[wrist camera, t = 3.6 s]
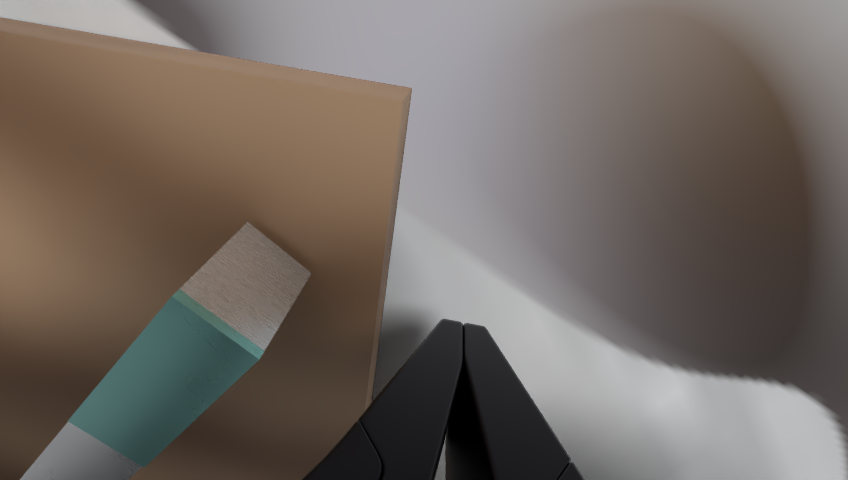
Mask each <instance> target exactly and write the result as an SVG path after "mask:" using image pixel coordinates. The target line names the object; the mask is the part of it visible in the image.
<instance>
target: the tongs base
mask: <svg viewBox="0 0 848 480" xmlns="http://www.w3.org/2000/svg"><path fill="white" fill-rule="evenodd" d="M411 92H412V88H408V87H402V86H396V85H390V84H385V83H379V82H373V81H367V80H361V79H356V78H350V77H344V76H337V75H332V74H326V73H320V72H315V71H309V70H303V69H296V68H291V67H286V66H280V65H274V64H268V63H262V62H257V61H251V60H245V59H239V58H233V57H227V56H221V55H216V54H210V53H204V52H198V51H192V50H187V49H181V48H175V47H169V46H163V45H158V44H152V43H146V42H140V41H134V40H128V39H123V38H117V37H111V36H105V35H99V34H93V33H88V32H82V31H76V30H70V29H64V28H58V27H53V26H47V25H41V24H35V23H29V22H23V21H18V20H12V19H6V18H0V480H20V479H21V477H22V476H23V475H24V474H25V473H26V471H27V470H28V469H29V468H30V467H31V465H32V464H33V463H34V462H35V461H36V460H37V458H38V457H39V456H40V455H41V454H42V452H43V451H44V450H45V449H46V448H47V446H48V445H49V444H50V443H51V442H52V440H53V439H54V438H55V437H56V436H57V434H58V433H59V432H60V431H61V430H62V428H63V427H64V426H65V425H66V424H67V422H68V420H69V419H70V418H71V416H72V415H73V414H74V413H75V412H76V410H77V409H78V408H79V407H80V406H81V404H82V403H83V402H84V401H85V400H86V398H87V397H88V396H89V395H90V394H91V392H92V391H93V390H94V389H95V388H96V386H97V385H98V384H99V383H100V382H101V380H102V379H103V378H104V377H105V376H106V374H107V373H108V372H109V371H110V370H111V368H112V367H113V366H114V365H115V364H116V362H117V361H118V360H119V359H120V358H121V356H122V355H123V354H124V353H125V352H126V351H127V349H128V348H129V347H130V346H131V345H132V343H133V342H134V341H135V340H136V339H137V337H138V336H139V335H140V334H141V333H142V331H143V330H144V329H145V328H146V327H147V325H148V324H149V323H150V322H151V321H152V319H153V318H154V317H155V316H156V315H157V313H158V312H159V311H160V310H161V309H162V307H163V306H164V305H165V304H166V303H167V301H168V300H169V299H170V298H171V297H172V296H173V295H174V294H175V293H176V292H177V291H178V290H179V289H180V288H181V287H182V286H183V285H184V284H185V283H186V282H187V281H188V280H189V279H190V278H191V277H192V276H193V275H194V274H195V273H196V272H197V271H198V270H199V269H200V268H201V267H202V266H203V265H204V264H205V263H206V262H207V261H208V260H209V259H210V258H211V257H212V256H213V255H214V254H215V253H216V252H217V251H218V250H219V249H220V248H222V247H223V246H224V245H225V244H226V243H227V242H228V241H229V240H230V239H231V238H232V237H233V236H234V235H235V234H236V233H237V232H238V231H239V230H240V229H241V228H242V227H243V226H244V225H245V224H246V223H247V222H249V223H250V224H251V225H253V226H254V227H255V228H256V229H258V230H259V231H260V232H261V233H263V234H264V235H265V236H266V237H267V238H269V239H270V240H271V241H272V242H274V243H275V244H276V245H277V246H279V247H280V248H281V249H282V250H284V251H285V252H286V253H287V254H289V255H290V256H291V257H292V258H294V259H295V260H296V261H297V262H299V263H300V264H301V265H302V266H304V267H305V268H306V269H307V270H308V271H310V272H311V273H312V274H311V275H310V277H309V278H308V280H307V282H306V283H305V285H304V287H303V288H302V290H301V292H300V293H299V295H298V297H297V298H296V300H295V302H294V303H293V305H292V307H291V308H290V310H289V311H288V313H287V315H286V316H285V318H284V320H283V321H282V323H281V325H280V326H279V328H278V330H277V331H276V333H275V335H274V336H273V338H272V340H271V341H270V343H269V344H268V346H267V348H266V349H265V351H264V353H263V354H262V356H261V358H260V359H259V360H258V361H257V362H256V363H255V364H254V365H253V366H252V367H251V368H250V369H249V370H248V371H247V372H246V373H245V374H243V375H242V376H241V377H240V378H239V379H238V380H237V381H236V382H235V383H234V384H233V385H232V386H231V387H230V388H229V389H228V390H226V391H225V392H224V393H223V394H222V395H221V396H220V397H219V398H218V399H217V400H216V401H215V402H214V403H213V404H212V405H210V406H209V407H208V408H207V409H206V410H205V411H204V412H203V413H202V414H201V415H200V416H199V417H198V418H197V419H196V420H195V421H193V422H192V423H191V424H190V425H189V426H188V427H187V428H186V429H185V430H184V431H183V432H182V433H181V434H180V435H179V436H178V437H176V438H175V439H174V440H173V441H172V442H171V443H170V444H169V445H168V446H167V447H166V448H165V449H164V450H163V451H162V452H161V453H159V454H158V455H157V456H156V457H155V458H154V459H153V460H152V461H151V462H150V463H149V464H148V465H147V466H146V467H145V468H143V467H141V468H140V469H139V470H138V471H137V472H136V473H135V474H134V475H133V476H132V477H131V478H130V479H129V480H302V479H303V478H304V477H305V476H306V475H307V474H308V473H309V472H310V471H311V470H312V469H313V468H314V467H315V466H316V465H317V464H318V463H319V462H320V461H321V460H322V459H323V458H324V457H325V456H326V455H327V454H328V453H329V452H330V451H331V450H332V449H333V448H334V446H335V445H336V444H337V443H338V442H339V441H340V440H341V439H342V438H343V436H344V435H345V434H346V433H347V432H348V430H349V429H350V428H351V427H352V426H353V424H354V423H355V422H357V421H358V419H359V418H360V416H361V415H362V414H363V413H364V412H365V410H366V409H367V408H368V407H369V406H370V404H371V400H372V393H373V385H374V377H375V370H376V362H377V354H378V346H379V339H380V331H381V323H382V316H383V308H384V300H385V292H386V285H387V277H388V269H389V262H390V254H391V246H392V238H393V231H394V223H395V215H396V208H397V200H398V192H399V184H400V177H401V169H402V161H403V154H404V146H405V138H406V131H407V122H408V115H409V107H410V100H411Z"/></svg>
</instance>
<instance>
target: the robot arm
mask: <svg viewBox="0 0 848 480" xmlns="http://www.w3.org/2000/svg"><path fill="white" fill-rule="evenodd" d="M445 436H446V449H445V456H446V480H584V478H583V477H582V475H581V474H580V472H579V471H578V469H577V467H576V466H575V464H574V463H572V462H571V459H570V457H569V455H568V454H567V452H566V451H565V449H564V448H563V446H562V445H561V443H560V442H559V440H558V438H557V437H556V435H555V434H554V432H553V431H552V429H551V428H550V426H549V425H548V423H547V421H546V420H545V418H544V417H543V415H542V414H541V412H540V411H539V409H538V408H537V406H536V404H535V403H534V401H533V400H532V398H531V397H530V395H529V394H528V392H527V391H526V389H525V387H524V386H523V384H522V383H521V381H520V380H519V378H518V377H517V375H516V374H515V372H514V370H513V369H512V367H511V366H510V364H509V363H508V361H507V360H506V358H505V357H504V355H503V354H502V352H501V350H500V349H499V347H498V346H497V344H496V343H495V341H494V340H493V338H492V337H491V335H490V333H489V332H488V330H487V329H486V328H485V327H484V326H480V325H475V324H469V323H465V324H464V325H463V324H462V323H461V322H459V321H453V320H448V319H442V320H441V321H440V322H439V323H438V324H437V325H436V327H435V328H434V329H433V330H432V331H431V333H430V334H429V335H428V336H427V337H426V339H425V340H424V341H423V342H422V343H421V345H420V346H419V347H418V348H417V349H416V351H415V352H414V353H413V354H412V355H411V357H410V358H409V359H408V360H407V361H406V363H405V364H404V365H403V366H402V367H401V369H400V370H399V371H398V372H397V373H396V375H395V376H394V377H393V378H392V379H391V381H390V382H389V383H388V384H387V385H386V386H385V388H384V389H383V390H382V391H381V392H380V394H379V395H378V396H377V397H376V398H375V400H374V401H373V402H372V403H371V404H370V406H369V407H368V408H367V409H366V410H365V412H364V413H363V414H362V415H361V416H360V418H359V419H358V421H357V422H355V423H354V424H353V426H352V427H351V428H350V429H349V430H348V432H347V433H346V434H345V435H344V436H343V438H342V439H341V440H340V441H339V442H338V443H337V444H336V445H335V446H334V448H333V449H332V450H331V451H330V452H329V453H328V454H327V455H326V456H325V457H324V458H323V459H322V460H321V461H320V462H319V463H318V464H317V465H316V466H315V467H314V468H313V469H312V470H311V471H310V472H309V473H308V474H307V475H306V476H305V477H304V478H303V479H302V480H435V476H436V472H437V468H438V464H439V460H440V456H441V452H442V448H443V444H444V440H445ZM570 462H571V463H570Z"/></svg>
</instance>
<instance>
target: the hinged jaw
mask: <svg viewBox="0 0 848 480" xmlns="http://www.w3.org/2000/svg"><path fill="white" fill-rule="evenodd" d="M311 274H312V273H311V272H310V271H308V270H307V269H306V268H305V267H304V266H302V265H301V264H300V263H299V262H297V261H296V260H295V259H294V258H292V257H291V256H290V255H289V254H287V253H286V252H285V251H284V250H282V249H281V248H280V247H279V246H277V245H276V244H275V243H274V242H272V241H271V240H270V239H269V238H267V237H266V236H265V235H264V234H263V233H261V232H260V231H259V230H258V229H256V228H255V227H254V226H253V225H251V224H250V223H249V222H247V223H246V224H245V225H244V226H243V227H242V228H241V229H240V230H239V231H238V232H237V233H236V234H235V235H234V236H233V237H232V238H231V239H230V240H229V241H228V242H227V243H226V244H225V245H224V246H223V247H222V248H220V249H219V250H218V251H217V252H216V253H215V254H214V255H213V256H212V257H211V258H210V259H209V260H208V261H207V262H206V263H205V264H204V265H203V266H202V267H201V268H200V269H199V270H198V271H197V272H196V273H195V274H194V275H193V276H192V277H191V278H190V279H189V280H188V281H187V282H186V283H185V284H184V285H183V286H182V287H181V288H180V289H179V290H178V291H177V292H176V293H175V294H174V295H173V296H172V297H171V298H170V299H169V300H168V301H167V303H166V304H165V305H164V306H163V307H162V309H161V310H160V311H159V312H158V313H157V315H156V316H155V317H154V318H153V319H152V321H151V322H150V323H149V324H148V325H147V327H146V328H145V329H144V330H143V331H142V333H141V334H140V335H139V336H138V337H137V339H136V340H135V341H134V342H133V343H132V345H131V346H130V347H129V348H128V349H127V351H126V352H125V353H124V354H123V355H122V356H121V358H120V359H119V360H118V361H117V362H116V364H115V365H114V366H113V367H112V368H111V370H110V371H109V372H108V373H107V374H106V376H105V377H104V378H103V379H102V380H101V382H100V383H99V384H98V385H97V386H96V388H95V389H94V390H93V391H92V392H91V394H90V395H89V396H88V397H87V398H86V400H85V401H84V402H83V403H82V404H81V406H80V407H79V408H78V409H77V410H76V412H75V413H74V414H73V415H72V416H71V418H70V419H69V420H68V422H67V424H66V425H65V426H64V427H63V428H62V430H61V431H60V432H59V433H58V434H57V436H56V437H55V438H54V439H53V440H52V442H51V443H50V444H49V445H48V446H47V448H46V449H45V450H44V451H43V452H42V454H41V455H40V456H39V457H38V458H37V460H36V461H35V462H34V463H33V464H32V465H31V467H30V468H29V469H28V470H27V471H26V473H25V474H24V475H23V476H22V477H21V479H20V480H129V479H130V478H131V477H132V476H133V475H134V474H135V473H136V472H137V471H138V470H139V469H140V468H141V467H143V468H145V467H146V466H147V465H148V464H149V463H150V462H151V461H152V460H153V459H154V458H155V457H156V456H157V455H158V454H159V453H161V452H162V451H163V450H164V449H165V448H166V447H167V446H168V445H169V444H170V443H171V442H172V441H173V440H174V439H175V438H176V437H178V436H179V435H180V434H181V433H182V432H183V431H184V430H185V429H186V428H187V427H188V426H189V425H190V424H191V423H192V422H193V421H195V420H196V419H197V418H198V417H199V416H200V415H201V414H202V413H203V412H204V411H205V410H206V409H207V408H208V407H209V406H210V405H212V404H213V403H214V402H215V401H216V400H217V399H218V398H219V397H220V396H221V395H222V394H223V393H224V392H225V391H226V390H228V389H229V388H230V387H231V386H232V385H233V384H234V383H235V382H236V381H237V380H238V379H239V378H240V377H241V376H242V375H243V374H245V373H246V372H247V371H248V370H249V369H250V368H251V367H252V366H253V365H254V364H255V363H256V362H257V361H258V360H259V359H260V358H261V356H262V354H263V353H264V351H265V349H266V348H267V346H268V344H269V343H270V341H271V340H272V338H273V336H274V335H275V333H276V331H277V330H278V328H279V326H280V325H281V323H282V321H283V320H284V318H285V316H286V315H287V313H288V311H289V310H290V308H291V307H292V305H293V303H294V302H295V300H296V298H297V297H298V295H299V293H300V292H301V290H302V288H303V287H304V285H305V283H306V282H307V280H308V278H309V277H310V275H311Z"/></svg>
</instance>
